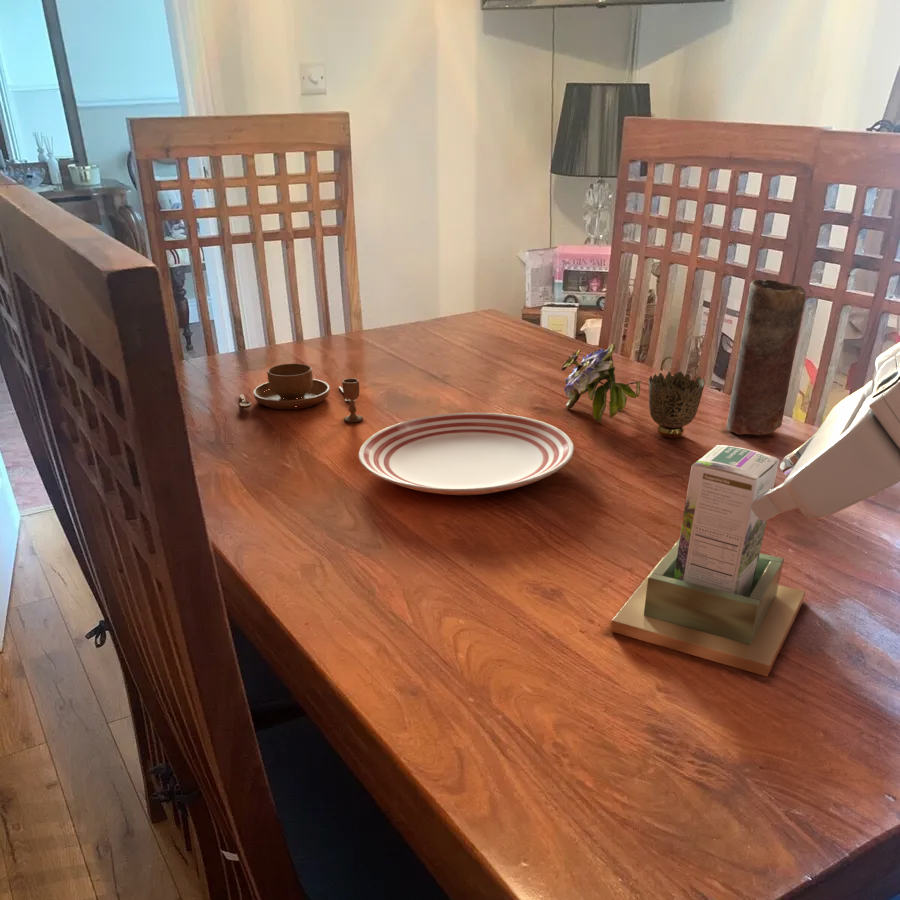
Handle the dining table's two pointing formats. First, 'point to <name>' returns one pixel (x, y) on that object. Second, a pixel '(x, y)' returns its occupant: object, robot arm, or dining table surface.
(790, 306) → the tall brown vase
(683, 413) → the cup
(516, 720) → the dining table surface
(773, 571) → the socket pad
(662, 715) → the dining table surface
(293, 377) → the place setting
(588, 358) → the passion flower
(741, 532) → the syrup box
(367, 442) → the dinner plate
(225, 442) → the dining table surface
